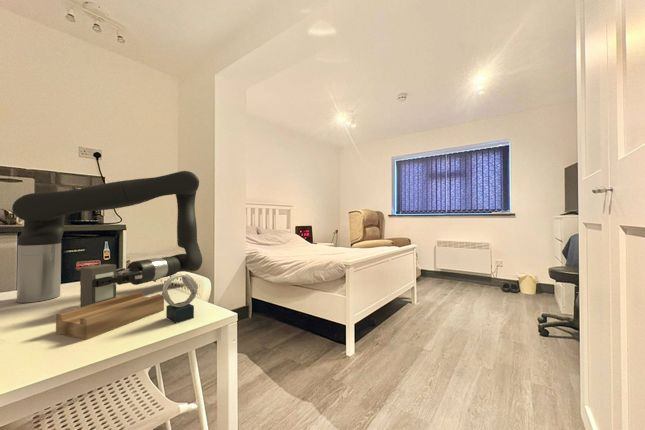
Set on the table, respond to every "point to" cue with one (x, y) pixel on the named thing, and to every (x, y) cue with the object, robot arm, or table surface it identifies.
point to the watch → (182, 309)
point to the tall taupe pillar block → (96, 293)
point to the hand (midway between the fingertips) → (87, 282)
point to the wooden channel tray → (107, 315)
